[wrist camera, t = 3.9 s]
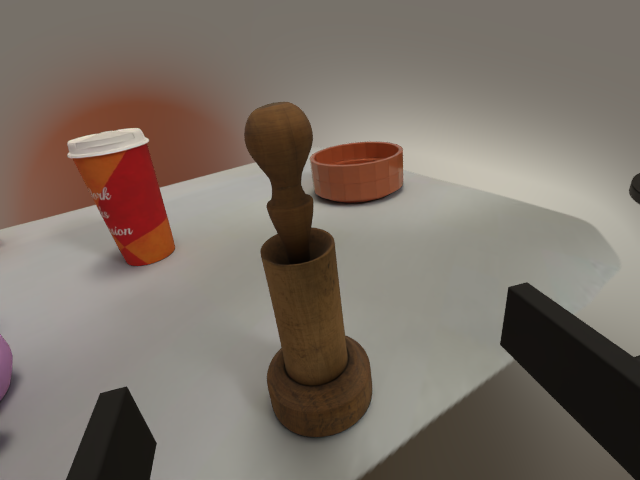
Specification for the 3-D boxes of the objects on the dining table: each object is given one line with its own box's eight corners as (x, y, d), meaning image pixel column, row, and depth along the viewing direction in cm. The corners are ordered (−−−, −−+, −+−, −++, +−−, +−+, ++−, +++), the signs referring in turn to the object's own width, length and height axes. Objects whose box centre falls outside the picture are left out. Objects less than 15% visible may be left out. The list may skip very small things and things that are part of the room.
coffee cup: (116, 251, 47) (67, 137, 41) (179, 233, 50) (143, 124, 44) (115, 279, 41) (55, 148, 34) (188, 256, 43) (146, 131, 37)
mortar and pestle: (311, 462, 19) (237, 122, 11) (254, 391, 24) (173, 115, 16) (393, 391, 23) (381, 90, 15) (329, 341, 28) (293, 92, 19)
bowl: (421, 182, 57) (421, 145, 54) (363, 213, 49) (360, 171, 46) (354, 171, 67) (352, 139, 64) (297, 195, 58) (291, 159, 56)
